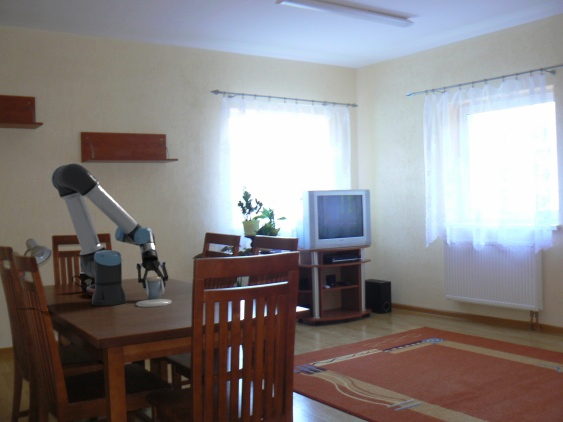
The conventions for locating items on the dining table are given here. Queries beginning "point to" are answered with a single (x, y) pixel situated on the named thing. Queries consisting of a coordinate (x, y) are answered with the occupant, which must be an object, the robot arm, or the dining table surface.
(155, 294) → the jar
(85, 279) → the coffee mug
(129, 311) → the dining table surface
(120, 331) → the dining table surface
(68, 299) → the dining table surface
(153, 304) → the plate
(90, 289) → the dish
